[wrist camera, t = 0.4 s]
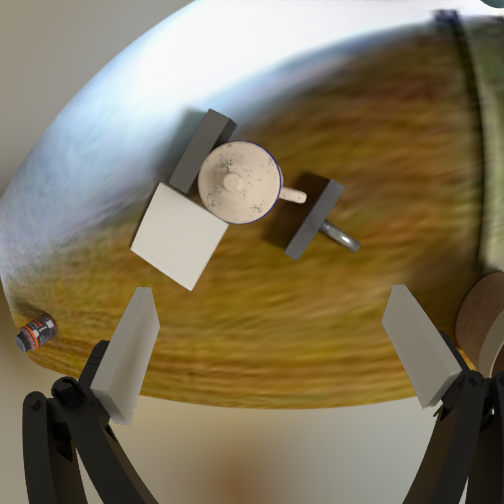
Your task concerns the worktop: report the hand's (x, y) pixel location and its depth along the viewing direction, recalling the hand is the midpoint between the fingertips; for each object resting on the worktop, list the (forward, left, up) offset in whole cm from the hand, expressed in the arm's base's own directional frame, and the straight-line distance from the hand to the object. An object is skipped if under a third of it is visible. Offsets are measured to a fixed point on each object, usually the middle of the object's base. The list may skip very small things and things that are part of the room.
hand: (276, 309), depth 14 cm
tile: (+10, -14, -25) cm, 30 cm away
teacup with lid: (-3, -7, -25) cm, 26 cm away
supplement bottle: (+48, -35, -25) cm, 64 cm away
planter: (-8, +38, -25) cm, 47 cm away
